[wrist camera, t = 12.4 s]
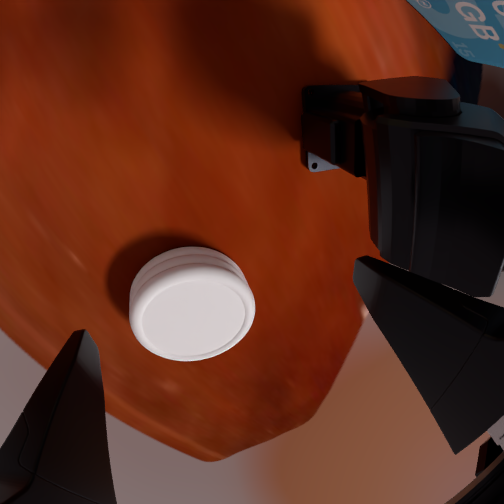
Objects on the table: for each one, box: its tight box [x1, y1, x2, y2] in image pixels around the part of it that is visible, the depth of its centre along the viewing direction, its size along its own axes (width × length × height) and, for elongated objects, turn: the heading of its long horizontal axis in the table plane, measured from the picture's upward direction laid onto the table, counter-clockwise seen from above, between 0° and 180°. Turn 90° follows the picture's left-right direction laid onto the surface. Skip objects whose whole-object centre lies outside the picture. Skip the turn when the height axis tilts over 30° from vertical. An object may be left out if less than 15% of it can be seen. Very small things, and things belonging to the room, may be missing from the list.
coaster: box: [129, 247, 255, 361], centre depth 24 cm, size 10×10×4 cm
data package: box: [407, 0, 504, 68], centre depth 11 cm, size 12×4×12 cm, turn 68°
